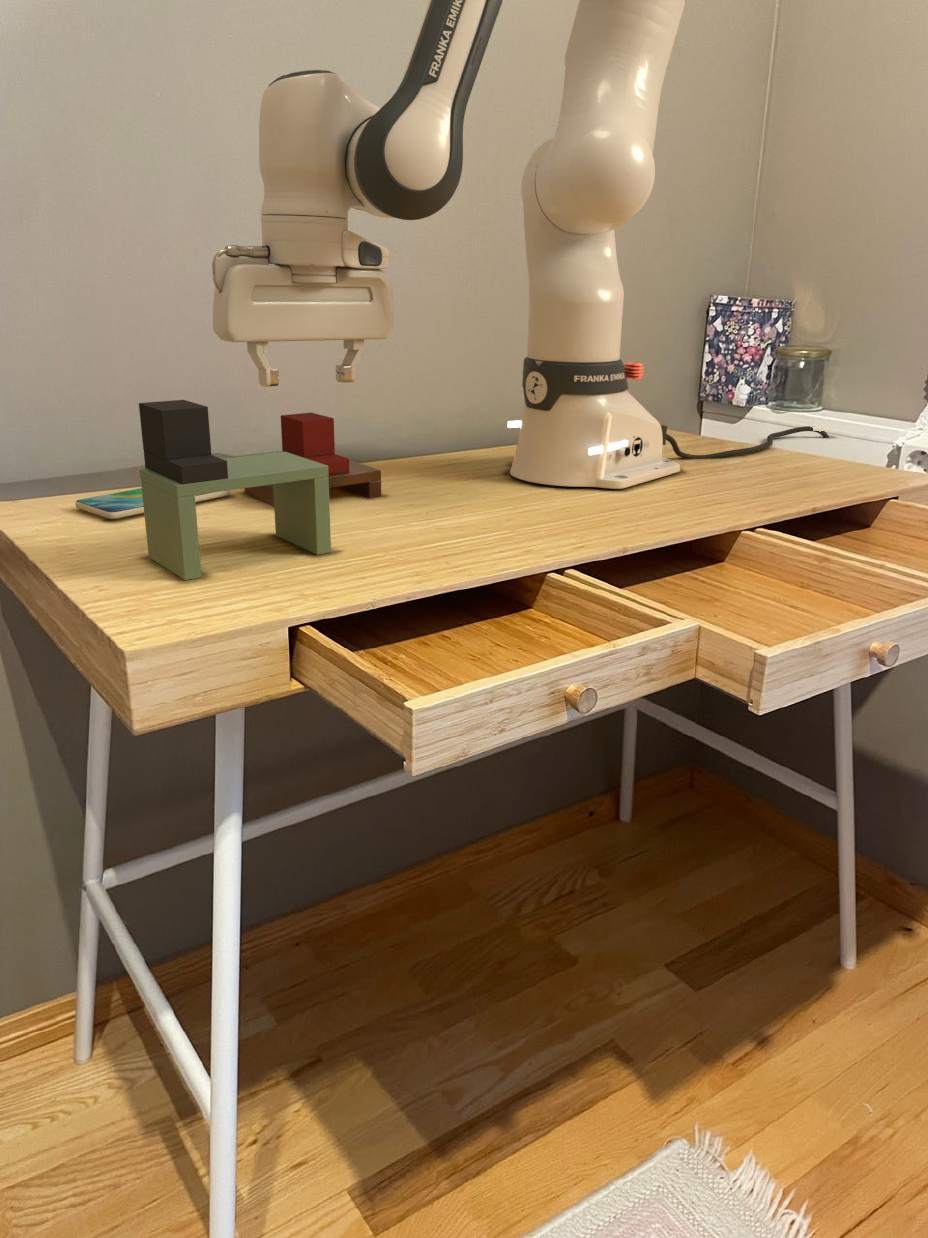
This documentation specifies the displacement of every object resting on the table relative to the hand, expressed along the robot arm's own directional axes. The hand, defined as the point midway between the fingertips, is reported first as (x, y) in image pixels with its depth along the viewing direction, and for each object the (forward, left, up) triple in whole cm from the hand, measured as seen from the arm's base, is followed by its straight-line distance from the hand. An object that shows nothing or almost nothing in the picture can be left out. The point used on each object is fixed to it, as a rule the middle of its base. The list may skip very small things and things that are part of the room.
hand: (308, 383), depth 105 cm
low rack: (0, 0, -12) cm, 12 cm away
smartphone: (+16, -6, -12) cm, 21 cm away
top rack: (+17, +17, -12) cm, 27 cm away
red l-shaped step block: (0, 0, -9) cm, 9 cm away
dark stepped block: (+22, +17, -4) cm, 28 cm away
